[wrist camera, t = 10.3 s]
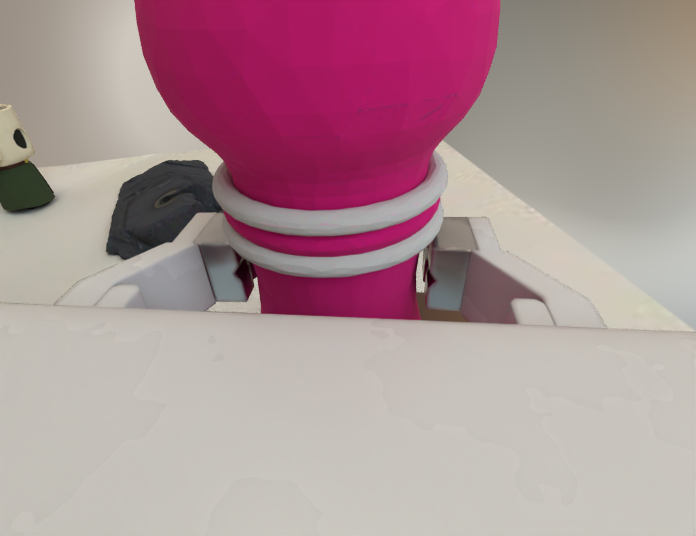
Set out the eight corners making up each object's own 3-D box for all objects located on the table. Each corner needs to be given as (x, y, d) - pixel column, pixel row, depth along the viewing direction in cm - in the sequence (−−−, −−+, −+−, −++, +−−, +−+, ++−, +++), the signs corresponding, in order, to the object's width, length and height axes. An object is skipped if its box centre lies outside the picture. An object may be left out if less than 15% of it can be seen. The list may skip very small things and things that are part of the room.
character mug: (63, 211, 54) (11, 114, 46) (1, 227, 51) (-66, 126, 43) (57, 185, 62) (11, 98, 54) (3, 198, 58) (-54, 107, 51)
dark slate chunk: (220, 170, 64) (213, 141, 61) (243, 234, 47) (235, 199, 44) (118, 189, 59) (105, 158, 57) (104, 266, 43) (84, 229, 40)
